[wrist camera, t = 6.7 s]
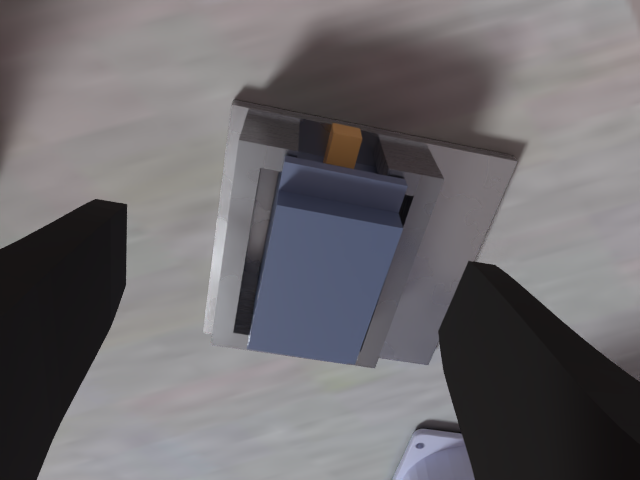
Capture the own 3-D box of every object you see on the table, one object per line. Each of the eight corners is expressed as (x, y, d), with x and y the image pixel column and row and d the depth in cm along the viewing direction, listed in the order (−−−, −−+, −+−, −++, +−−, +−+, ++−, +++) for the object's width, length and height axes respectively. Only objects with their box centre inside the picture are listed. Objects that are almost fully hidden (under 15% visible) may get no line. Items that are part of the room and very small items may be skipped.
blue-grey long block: (342, 307, 24) (348, 383, 20) (254, 293, 23) (243, 368, 20) (397, 130, 19) (419, 183, 16) (291, 107, 19) (286, 156, 15)
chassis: (425, 356, 26) (440, 412, 23) (205, 323, 25) (191, 379, 22) (512, 155, 21) (546, 196, 18) (233, 99, 19) (219, 133, 16)
